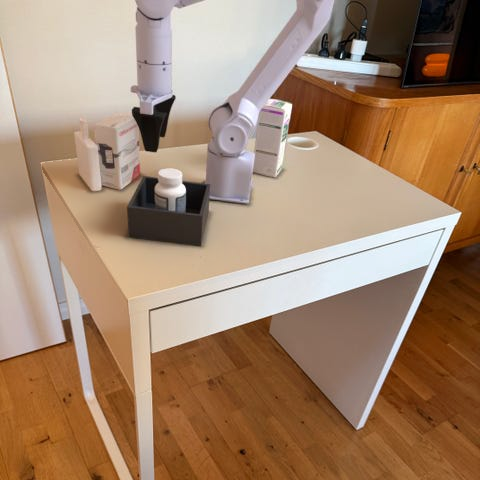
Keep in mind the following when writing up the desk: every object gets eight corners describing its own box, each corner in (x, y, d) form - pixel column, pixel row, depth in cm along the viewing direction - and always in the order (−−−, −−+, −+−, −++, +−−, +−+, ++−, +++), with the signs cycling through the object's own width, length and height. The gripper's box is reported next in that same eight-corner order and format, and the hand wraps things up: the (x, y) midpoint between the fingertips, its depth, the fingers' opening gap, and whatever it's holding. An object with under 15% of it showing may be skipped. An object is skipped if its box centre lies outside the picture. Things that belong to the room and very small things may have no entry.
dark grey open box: (208, 212, 86) (210, 184, 82) (200, 246, 76) (202, 216, 73) (144, 204, 85) (143, 175, 82) (128, 237, 76) (126, 206, 72)
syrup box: (275, 178, 101) (287, 109, 91) (250, 172, 102) (259, 103, 92) (282, 169, 105) (293, 102, 95) (258, 163, 106) (267, 97, 96)
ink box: (119, 169, 95) (115, 110, 88) (141, 174, 95) (139, 116, 87) (98, 185, 89) (92, 123, 81) (121, 190, 88) (117, 128, 81)
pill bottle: (183, 213, 83) (184, 166, 77) (187, 228, 79) (188, 179, 73) (153, 213, 82) (153, 166, 76) (156, 228, 78) (155, 179, 72)
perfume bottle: (102, 190, 88) (96, 126, 80) (92, 191, 87) (85, 127, 79) (88, 173, 92) (81, 111, 85) (79, 174, 91) (71, 112, 84)
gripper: (139, 48, 80) (142, 127, 89) (118, 67, 69) (123, 155, 78) (179, 54, 80) (178, 132, 89) (164, 73, 69) (164, 160, 78)
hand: (155, 143), depth 84 cm, fingers open, 7 cm apart
